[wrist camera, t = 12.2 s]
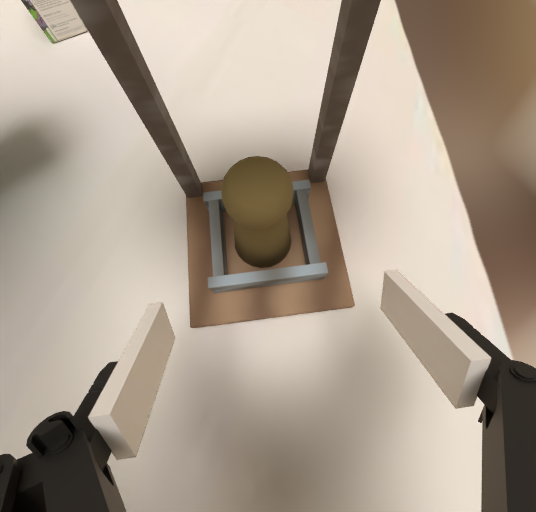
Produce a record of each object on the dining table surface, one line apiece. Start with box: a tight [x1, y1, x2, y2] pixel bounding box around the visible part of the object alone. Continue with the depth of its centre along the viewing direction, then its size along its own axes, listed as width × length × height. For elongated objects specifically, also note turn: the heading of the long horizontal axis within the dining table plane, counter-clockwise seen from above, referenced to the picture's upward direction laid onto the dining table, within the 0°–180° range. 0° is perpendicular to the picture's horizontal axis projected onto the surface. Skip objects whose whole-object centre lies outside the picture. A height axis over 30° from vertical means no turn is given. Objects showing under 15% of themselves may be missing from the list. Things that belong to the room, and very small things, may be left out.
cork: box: [221, 156, 294, 268], centre depth 23 cm, size 6×6×11 cm
